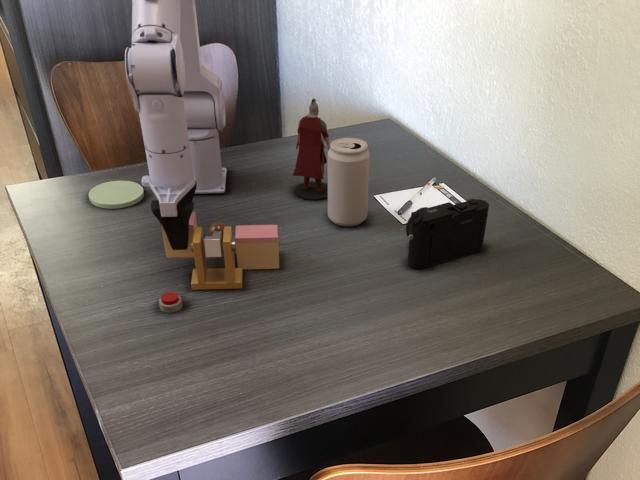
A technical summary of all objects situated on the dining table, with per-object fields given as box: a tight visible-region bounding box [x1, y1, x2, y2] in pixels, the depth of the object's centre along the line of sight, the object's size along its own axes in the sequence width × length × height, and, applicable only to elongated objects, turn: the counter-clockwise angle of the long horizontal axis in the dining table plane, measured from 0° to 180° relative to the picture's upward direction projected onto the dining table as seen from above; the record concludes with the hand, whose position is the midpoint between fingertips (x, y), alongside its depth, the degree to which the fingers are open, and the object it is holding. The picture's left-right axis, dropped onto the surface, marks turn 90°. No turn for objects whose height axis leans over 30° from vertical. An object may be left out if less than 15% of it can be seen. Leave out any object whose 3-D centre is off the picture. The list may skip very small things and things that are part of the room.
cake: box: [234, 224, 280, 271], centre depth 106 cm, size 4×6×5 cm, turn 94°
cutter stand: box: [190, 225, 244, 291], centre depth 101 cm, size 4×7×7 cm, turn 94°
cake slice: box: [160, 211, 198, 259], centre depth 103 cm, size 4×4×5 cm
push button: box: [158, 291, 183, 314], centre depth 98 cm, size 3×3×2 cm
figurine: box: [291, 98, 330, 201], centre depth 119 cm, size 7×7×15 cm
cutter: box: [203, 221, 227, 258], centre depth 104 cm, size 13×3×3 cm, turn 4°
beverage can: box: [327, 137, 371, 227], centre depth 113 cm, size 6×6×12 cm
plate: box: [88, 180, 145, 210], centre depth 122 cm, size 9×9×1 cm
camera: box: [405, 198, 490, 270], centre depth 108 cm, size 14×7×8 cm, turn 121°
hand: (181, 241), depth 104 cm, fingers closed on cake slice, 4 cm apart
